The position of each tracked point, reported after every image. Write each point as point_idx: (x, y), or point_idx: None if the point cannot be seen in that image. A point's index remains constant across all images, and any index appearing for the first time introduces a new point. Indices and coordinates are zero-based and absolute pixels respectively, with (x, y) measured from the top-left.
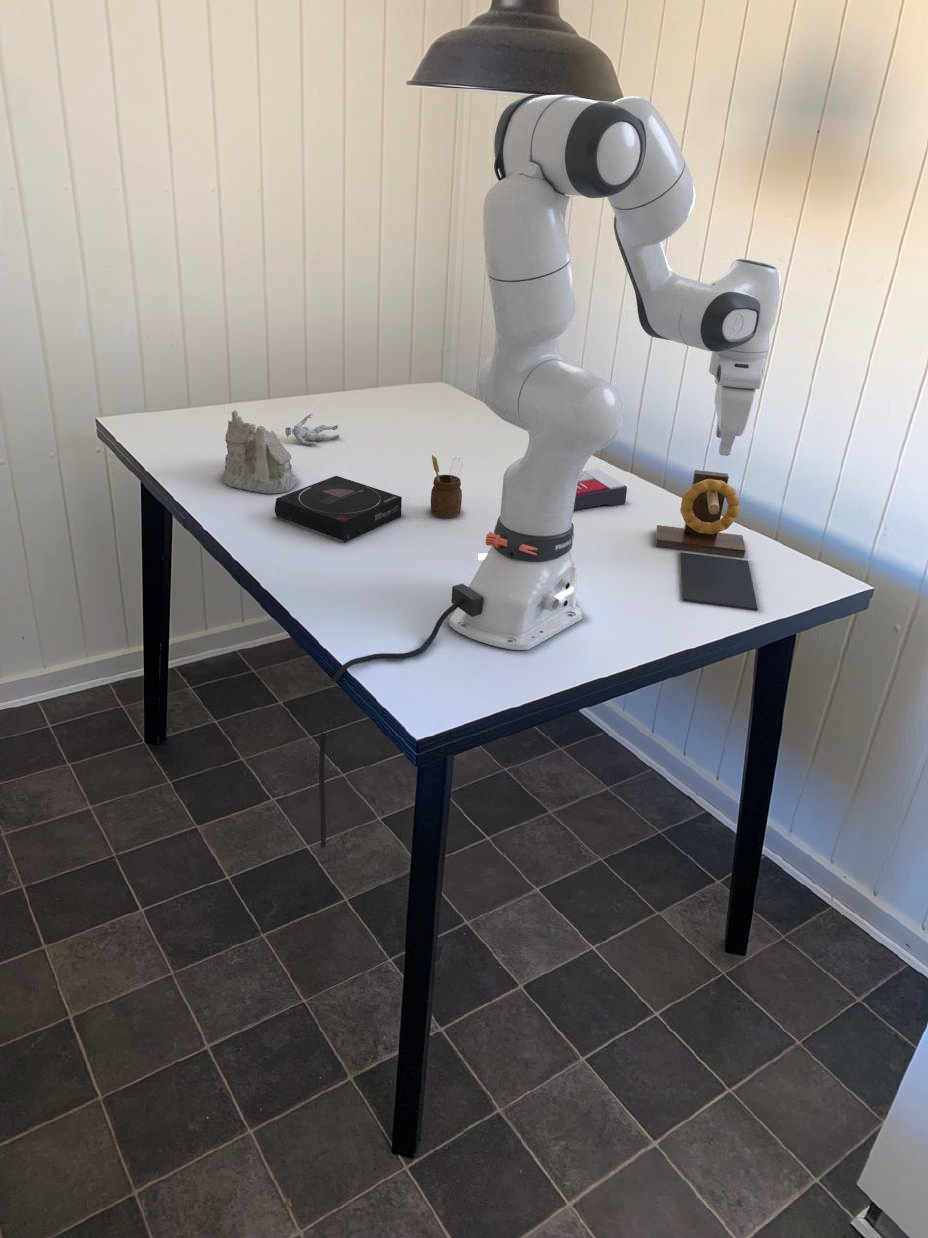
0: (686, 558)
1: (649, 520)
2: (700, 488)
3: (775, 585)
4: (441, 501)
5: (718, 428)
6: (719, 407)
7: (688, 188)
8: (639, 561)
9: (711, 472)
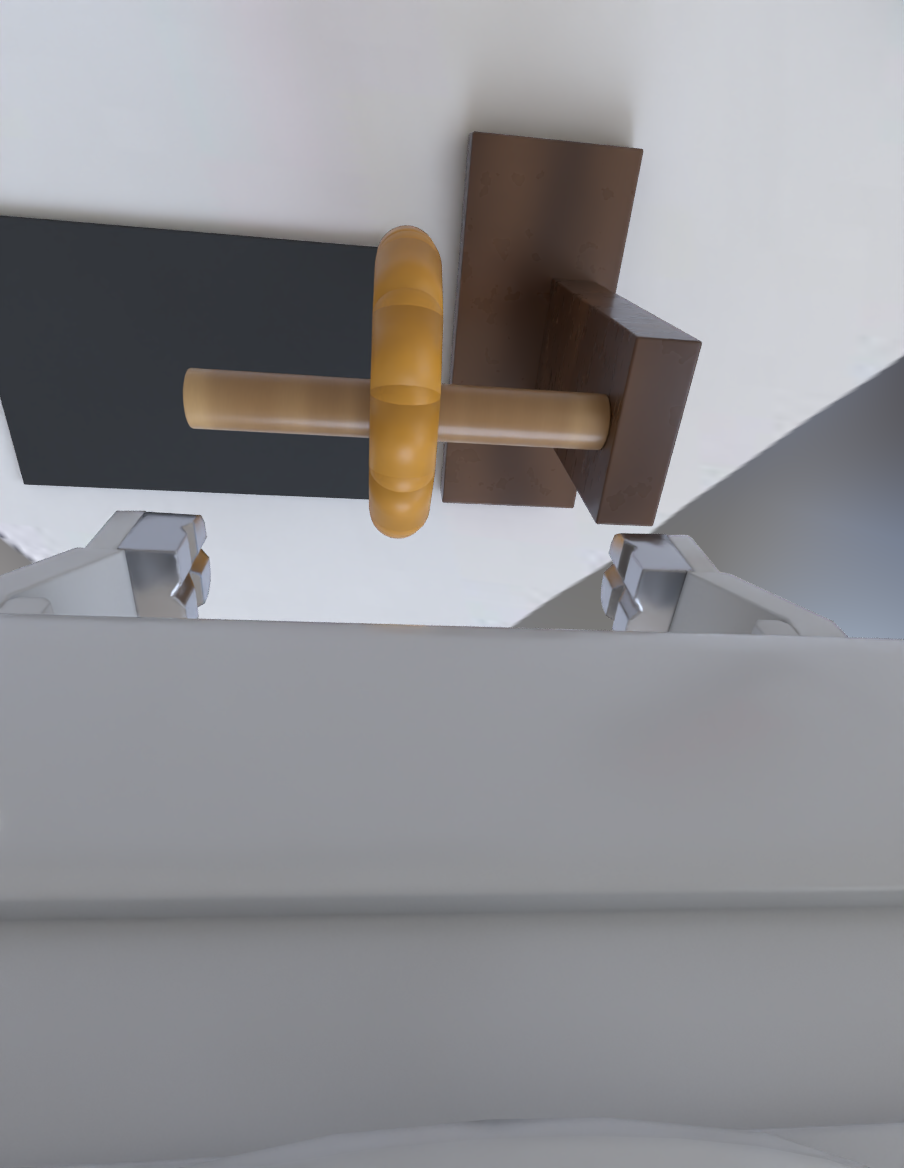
0: (357, 270)
1: (767, 128)
2: (373, 342)
3: (251, 557)
4: None
5: (637, 572)
6: (260, 731)
7: None
8: (281, 21)
9: (662, 440)
